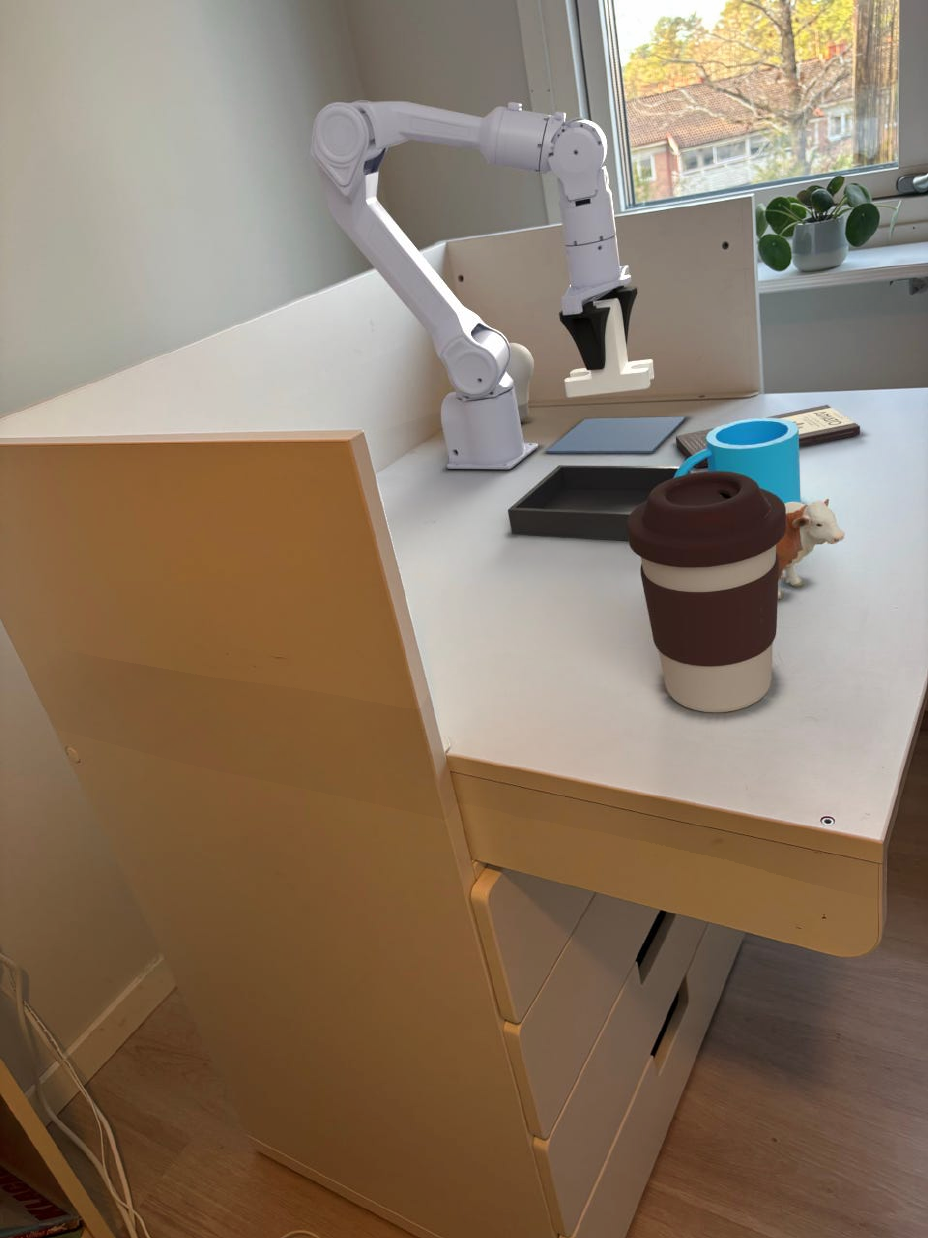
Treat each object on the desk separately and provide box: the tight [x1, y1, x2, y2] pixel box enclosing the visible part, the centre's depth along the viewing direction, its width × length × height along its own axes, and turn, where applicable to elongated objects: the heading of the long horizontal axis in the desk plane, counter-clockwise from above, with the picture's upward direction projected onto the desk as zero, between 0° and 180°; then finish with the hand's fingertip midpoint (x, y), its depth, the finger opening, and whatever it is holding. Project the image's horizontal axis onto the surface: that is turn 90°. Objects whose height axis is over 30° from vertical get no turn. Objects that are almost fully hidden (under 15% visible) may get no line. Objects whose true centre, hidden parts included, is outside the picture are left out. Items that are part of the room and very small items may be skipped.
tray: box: [507, 464, 692, 542], centre depth 96 cm, size 15×12×3 cm
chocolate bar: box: [675, 404, 861, 469], centre depth 106 cm, size 9×1×18 cm
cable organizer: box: [563, 298, 655, 398], centre depth 109 cm, size 5×10×10 cm, turn 71°
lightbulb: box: [505, 342, 535, 423], centre depth 128 cm, size 6×6×11 cm
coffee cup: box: [627, 470, 786, 713], centre depth 62 cm, size 10×10×15 cm
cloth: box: [545, 416, 687, 454], centre depth 117 cm, size 14×12×1 cm
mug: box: [673, 417, 802, 504], centre depth 87 cm, size 12×8×8 cm
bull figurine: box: [776, 498, 845, 601], centre depth 74 cm, size 4×13×8 cm, turn 63°
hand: (606, 360), depth 110 cm, fingers closed on cable organizer, 6 cm apart
